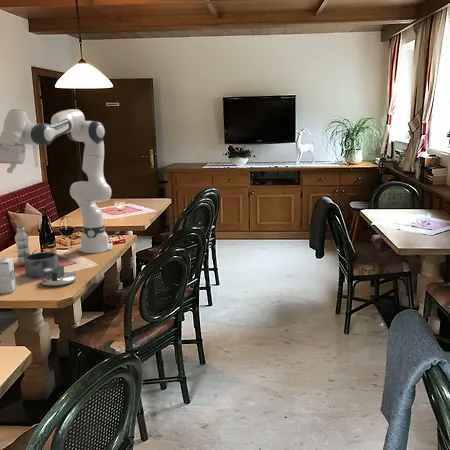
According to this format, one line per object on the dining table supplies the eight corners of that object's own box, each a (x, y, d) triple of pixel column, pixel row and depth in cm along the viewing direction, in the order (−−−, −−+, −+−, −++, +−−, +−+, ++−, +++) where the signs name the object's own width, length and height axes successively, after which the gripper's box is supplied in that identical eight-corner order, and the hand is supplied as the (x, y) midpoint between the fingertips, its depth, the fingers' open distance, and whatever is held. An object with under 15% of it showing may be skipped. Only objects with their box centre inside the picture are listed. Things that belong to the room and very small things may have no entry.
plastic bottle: (27, 267, 259) (22, 228, 255) (15, 266, 261) (10, 228, 256) (34, 263, 265) (30, 226, 261) (22, 262, 267) (18, 225, 262)
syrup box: (3, 289, 226) (-1, 258, 223) (16, 288, 227) (12, 257, 224) (-2, 294, 221) (-6, 261, 218) (12, 293, 221) (8, 261, 218)
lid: (47, 277, 242) (46, 264, 241) (80, 276, 242) (79, 263, 241) (35, 288, 227) (34, 274, 225) (70, 287, 227) (69, 274, 225)
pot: (35, 268, 257) (34, 250, 255) (63, 267, 257) (62, 250, 255) (20, 281, 237) (17, 262, 235) (50, 280, 237) (48, 261, 235)
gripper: (31, 146, 228) (23, 175, 226) (-1, 145, 237) (-9, 173, 235) (21, 140, 223) (13, 170, 220) (-12, 140, 231) (-20, 169, 229)
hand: (1, 172), depth 227 cm, fingers open, 8 cm apart
